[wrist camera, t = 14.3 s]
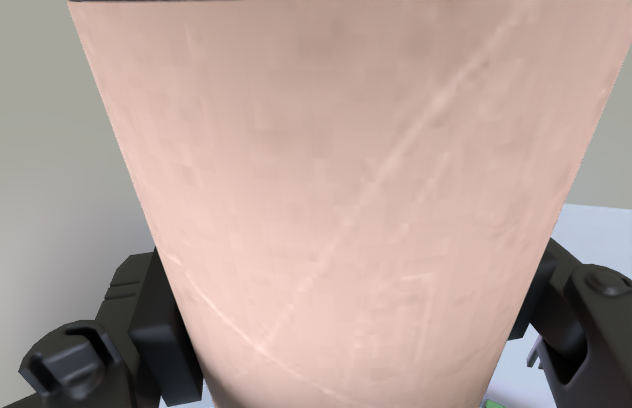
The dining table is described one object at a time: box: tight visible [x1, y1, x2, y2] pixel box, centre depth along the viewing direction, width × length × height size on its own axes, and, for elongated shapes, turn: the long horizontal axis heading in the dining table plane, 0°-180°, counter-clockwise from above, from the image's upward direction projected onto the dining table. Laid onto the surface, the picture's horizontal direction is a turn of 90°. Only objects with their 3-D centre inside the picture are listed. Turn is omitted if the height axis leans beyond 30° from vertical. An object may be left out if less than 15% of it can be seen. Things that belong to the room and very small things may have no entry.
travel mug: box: [67, 0, 632, 408], centre depth 10 cm, size 8×8×20 cm
